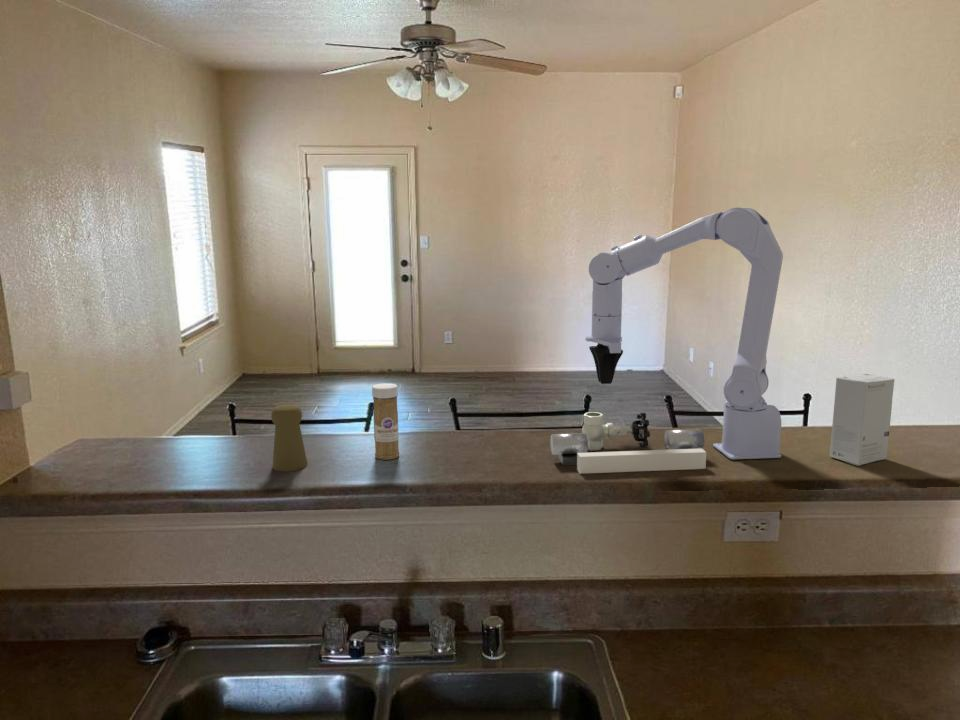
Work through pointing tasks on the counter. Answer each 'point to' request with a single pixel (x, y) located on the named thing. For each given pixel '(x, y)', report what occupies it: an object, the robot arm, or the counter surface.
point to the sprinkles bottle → (385, 421)
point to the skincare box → (861, 418)
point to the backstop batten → (641, 460)
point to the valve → (612, 430)
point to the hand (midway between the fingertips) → (605, 382)
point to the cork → (288, 439)
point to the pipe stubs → (578, 443)
